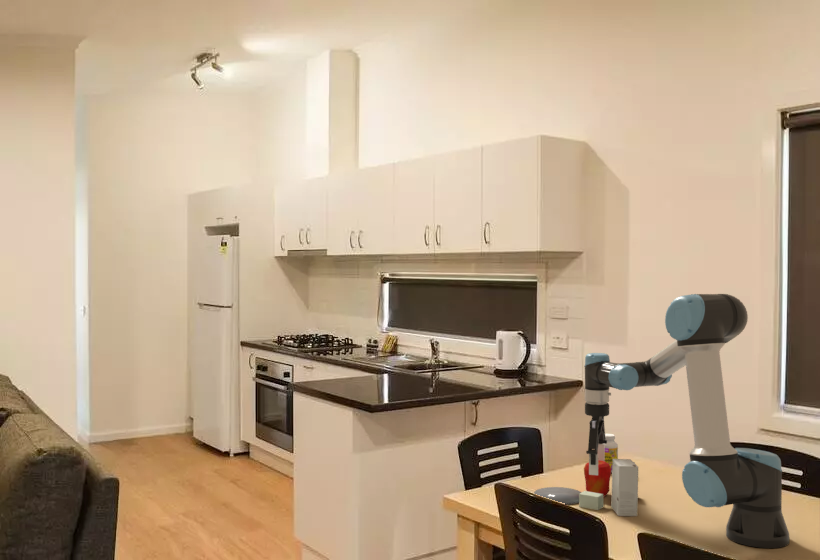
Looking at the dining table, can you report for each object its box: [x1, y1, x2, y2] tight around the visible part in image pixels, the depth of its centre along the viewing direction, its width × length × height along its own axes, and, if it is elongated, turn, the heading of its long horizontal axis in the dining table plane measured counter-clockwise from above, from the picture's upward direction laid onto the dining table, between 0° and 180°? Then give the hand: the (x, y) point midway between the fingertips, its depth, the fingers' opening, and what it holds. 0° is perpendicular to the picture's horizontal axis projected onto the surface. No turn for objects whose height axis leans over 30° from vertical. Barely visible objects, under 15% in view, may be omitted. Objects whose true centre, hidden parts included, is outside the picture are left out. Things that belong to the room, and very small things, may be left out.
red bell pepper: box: [583, 458, 612, 498], centre depth 244 cm, size 9×8×12 cm
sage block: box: [578, 490, 604, 511], centre depth 232 cm, size 4×6×4 cm, turn 54°
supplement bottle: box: [603, 433, 619, 474], centre depth 273 cm, size 7×7×13 cm
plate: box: [534, 486, 583, 505], centre depth 241 cm, size 15×15×1 cm
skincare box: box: [610, 458, 639, 517], centre depth 226 cm, size 8×6×15 cm
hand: (596, 469), depth 244 cm, fingers open, 13 cm apart
